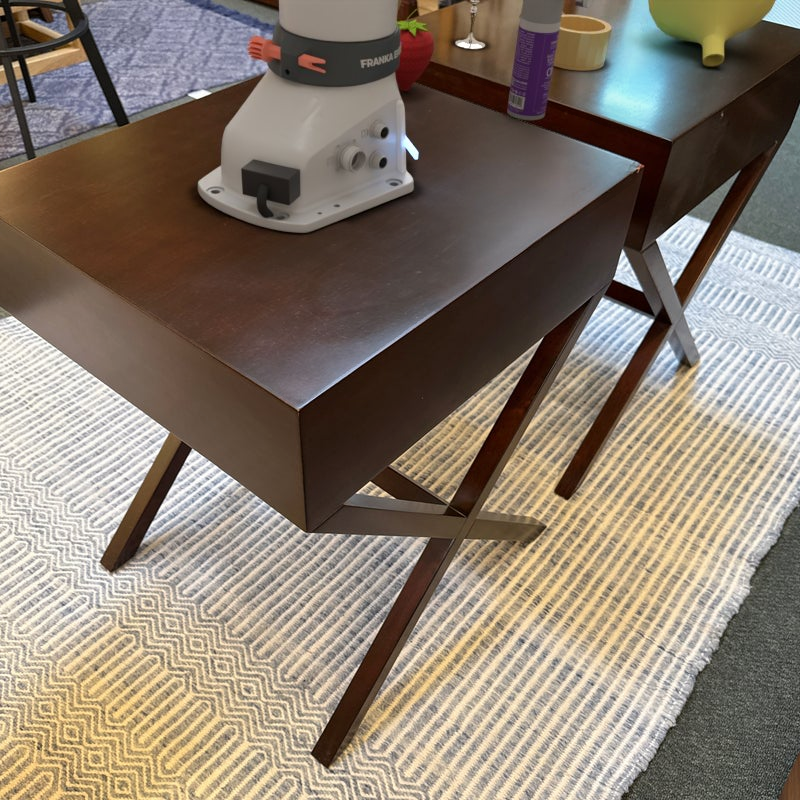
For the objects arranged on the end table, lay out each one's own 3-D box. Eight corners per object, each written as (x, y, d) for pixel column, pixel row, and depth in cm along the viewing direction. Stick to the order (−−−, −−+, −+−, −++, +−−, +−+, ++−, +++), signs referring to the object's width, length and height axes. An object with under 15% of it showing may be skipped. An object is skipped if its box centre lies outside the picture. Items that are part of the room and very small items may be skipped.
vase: (726, -125, 113) (728, -3, 109) (806, -61, 123) (810, 54, 119) (623, -45, 129) (620, 65, 124) (700, 6, 138) (701, 110, 134)
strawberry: (439, 87, 109) (447, 5, 103) (413, 104, 104) (419, 19, 97) (399, 78, 111) (404, -4, 105) (371, 94, 106) (375, 9, 99)
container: (546, 121, 102) (570, -13, 93) (508, 119, 102) (527, -16, 92) (542, 107, 106) (564, -23, 96) (505, 104, 106) (523, -26, 96)
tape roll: (588, 75, 116) (596, 37, 113) (530, 60, 120) (536, 23, 117) (613, 60, 122) (621, 23, 119) (557, 46, 126) (563, 10, 123)
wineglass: (466, 36, 127) (475, -53, 120) (497, 45, 124) (509, -45, 117) (442, 43, 124) (450, -48, 116) (474, 53, 121) (484, -39, 113)
